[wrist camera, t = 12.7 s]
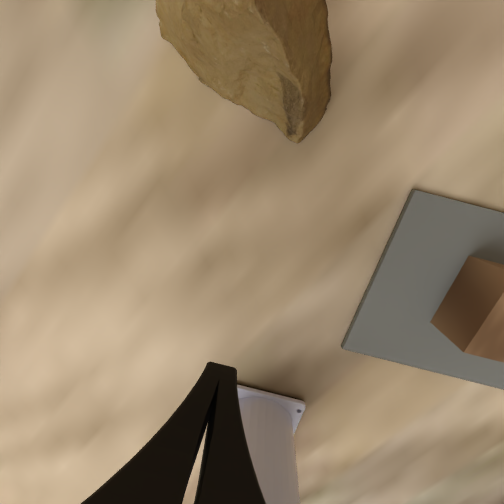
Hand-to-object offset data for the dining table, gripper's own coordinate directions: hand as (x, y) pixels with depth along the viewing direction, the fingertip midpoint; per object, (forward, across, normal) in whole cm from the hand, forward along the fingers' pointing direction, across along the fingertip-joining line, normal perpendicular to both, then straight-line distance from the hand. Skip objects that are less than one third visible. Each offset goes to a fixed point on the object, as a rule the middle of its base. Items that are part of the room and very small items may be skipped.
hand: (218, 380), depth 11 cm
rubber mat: (+9, -18, -4) cm, 21 cm away
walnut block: (+7, -16, -5) cm, 18 cm away
